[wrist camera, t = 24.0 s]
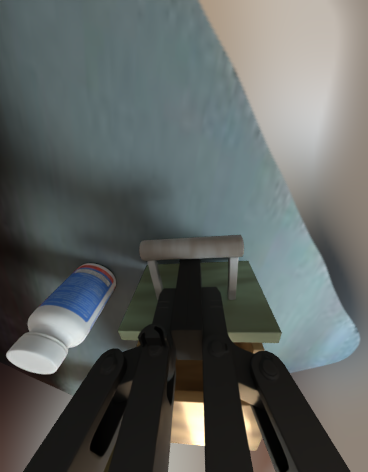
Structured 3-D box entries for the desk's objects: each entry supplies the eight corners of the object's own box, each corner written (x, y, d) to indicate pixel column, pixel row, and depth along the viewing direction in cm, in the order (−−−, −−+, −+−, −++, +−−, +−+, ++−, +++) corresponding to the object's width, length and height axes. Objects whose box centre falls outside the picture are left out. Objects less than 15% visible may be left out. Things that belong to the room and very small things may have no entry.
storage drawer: (134, 218, 16) (87, 269, 9) (253, 209, 15) (303, 261, 8) (165, 333, 25) (152, 403, 18) (240, 334, 23) (258, 410, 17)
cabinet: (157, 310, 24) (135, 398, 15) (245, 309, 22) (275, 407, 14) (171, 361, 30) (161, 441, 22) (239, 363, 29) (256, 450, 20)
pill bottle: (72, 260, 20) (-20, 340, 12) (113, 263, 20) (50, 347, 11) (83, 290, 23) (15, 375, 14) (120, 293, 23) (72, 381, 14)
